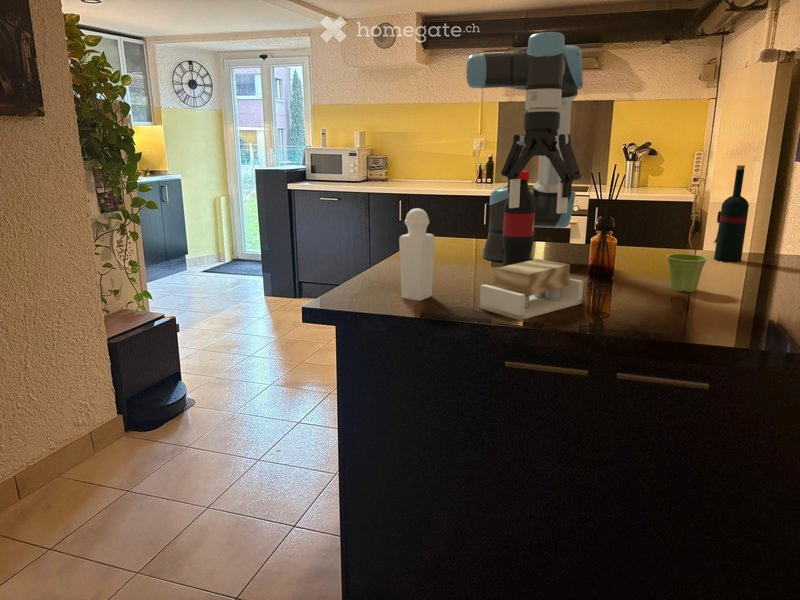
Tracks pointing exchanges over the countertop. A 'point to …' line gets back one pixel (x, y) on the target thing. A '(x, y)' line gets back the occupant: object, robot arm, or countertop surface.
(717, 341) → the countertop surface
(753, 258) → the countertop surface
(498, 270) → the wooden block
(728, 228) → the wine bottle
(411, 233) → the white square bottle
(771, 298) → the countertop surface
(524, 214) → the cola bottle
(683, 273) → the plant pot
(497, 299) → the cradle
